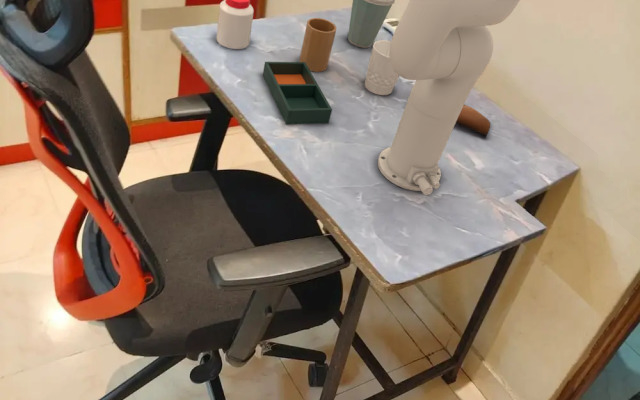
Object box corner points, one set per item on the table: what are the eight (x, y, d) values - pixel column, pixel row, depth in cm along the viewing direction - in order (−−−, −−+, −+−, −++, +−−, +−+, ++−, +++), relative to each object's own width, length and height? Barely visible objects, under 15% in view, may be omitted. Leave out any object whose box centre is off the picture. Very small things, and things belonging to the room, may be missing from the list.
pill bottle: (219, 30, 142) (224, -15, 135) (251, 36, 143) (257, -7, 135) (213, 44, 136) (217, -1, 129) (246, 52, 137) (252, 7, 130)
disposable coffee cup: (337, 29, 155) (351, -27, 145) (375, 34, 158) (392, -21, 148) (344, 50, 148) (359, -8, 138) (385, 54, 150) (402, -2, 140)
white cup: (395, 83, 141) (407, 45, 134) (394, 100, 135) (407, 61, 128) (363, 75, 140) (374, 36, 134) (360, 92, 134) (372, 53, 128)
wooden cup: (330, 71, 138) (340, 33, 132) (304, 71, 136) (312, 32, 129) (321, 56, 143) (330, 18, 136) (295, 56, 140) (303, 17, 134)
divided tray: (302, 75, 134) (305, 61, 132) (328, 123, 122) (332, 109, 120) (262, 75, 131) (264, 61, 129) (285, 124, 119) (288, 110, 117)
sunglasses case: (490, 119, 136) (499, 105, 130) (481, 144, 134) (489, 132, 128) (416, 92, 138) (421, 77, 132) (406, 117, 136) (411, 103, 130)
